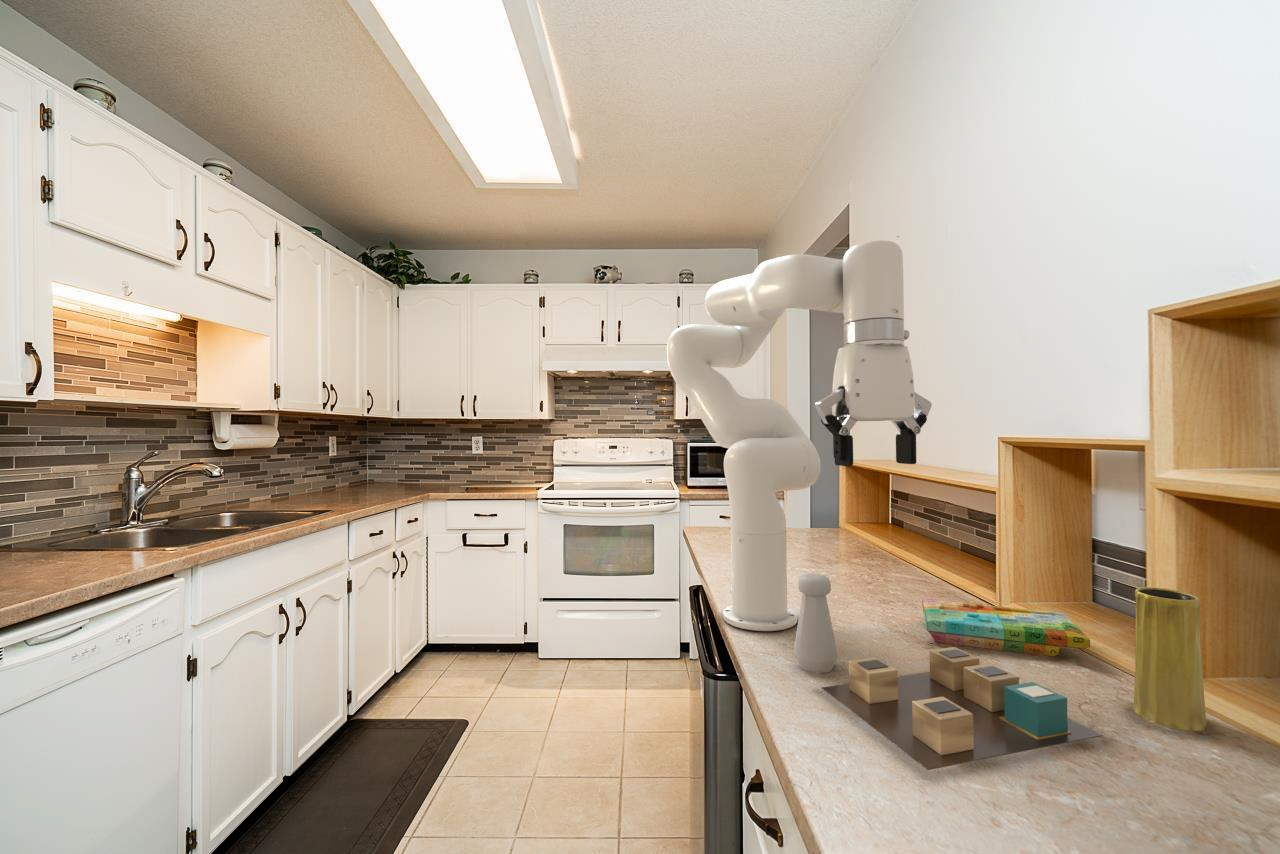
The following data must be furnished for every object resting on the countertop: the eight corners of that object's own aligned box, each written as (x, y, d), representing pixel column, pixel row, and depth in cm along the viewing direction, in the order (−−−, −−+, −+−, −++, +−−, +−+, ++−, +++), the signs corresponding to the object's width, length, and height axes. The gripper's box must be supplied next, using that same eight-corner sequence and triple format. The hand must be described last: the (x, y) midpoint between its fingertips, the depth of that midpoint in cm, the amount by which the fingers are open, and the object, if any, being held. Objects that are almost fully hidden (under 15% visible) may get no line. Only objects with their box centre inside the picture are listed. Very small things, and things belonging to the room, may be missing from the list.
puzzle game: (921, 594, 96) (1064, 607, 88) (922, 622, 96) (1065, 638, 88) (926, 615, 85) (1089, 632, 78) (927, 646, 85) (1090, 667, 78)
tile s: (1004, 718, 63) (1004, 685, 63) (1033, 713, 64) (1032, 680, 64) (1038, 737, 59) (1037, 701, 59) (1068, 731, 60) (1067, 696, 60)
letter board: (821, 692, 71) (820, 686, 71) (964, 671, 77) (964, 666, 77) (927, 775, 54) (927, 768, 54) (1102, 741, 59) (1102, 734, 59)
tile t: (963, 696, 68) (963, 666, 68) (990, 692, 69) (989, 662, 69) (991, 712, 64) (991, 680, 64) (1019, 707, 65) (1019, 675, 65)
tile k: (912, 735, 60) (911, 700, 60) (943, 729, 61) (943, 695, 61) (941, 755, 56) (940, 718, 56) (974, 749, 57) (973, 712, 57)
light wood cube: (849, 689, 71) (848, 659, 71) (876, 685, 72) (876, 656, 72) (869, 704, 67) (869, 672, 67) (898, 699, 68) (898, 668, 68)
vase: (1215, 742, 59) (1213, 604, 59) (1138, 726, 62) (1136, 596, 62) (1197, 716, 64) (1195, 590, 64) (1127, 703, 67) (1125, 583, 67)
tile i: (929, 677, 74) (929, 649, 74) (954, 674, 75) (954, 645, 75) (953, 691, 70) (953, 661, 70) (980, 687, 71) (979, 657, 71)
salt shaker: (840, 665, 79) (839, 572, 79) (835, 682, 74) (834, 582, 74) (797, 658, 82) (796, 568, 82) (790, 674, 76) (789, 578, 77)
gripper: (908, 343, 82) (910, 461, 82) (801, 340, 78) (803, 464, 77) (948, 334, 75) (950, 464, 74) (833, 330, 70) (835, 468, 70)
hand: (875, 464), depth 76 cm, fingers open, 9 cm apart
